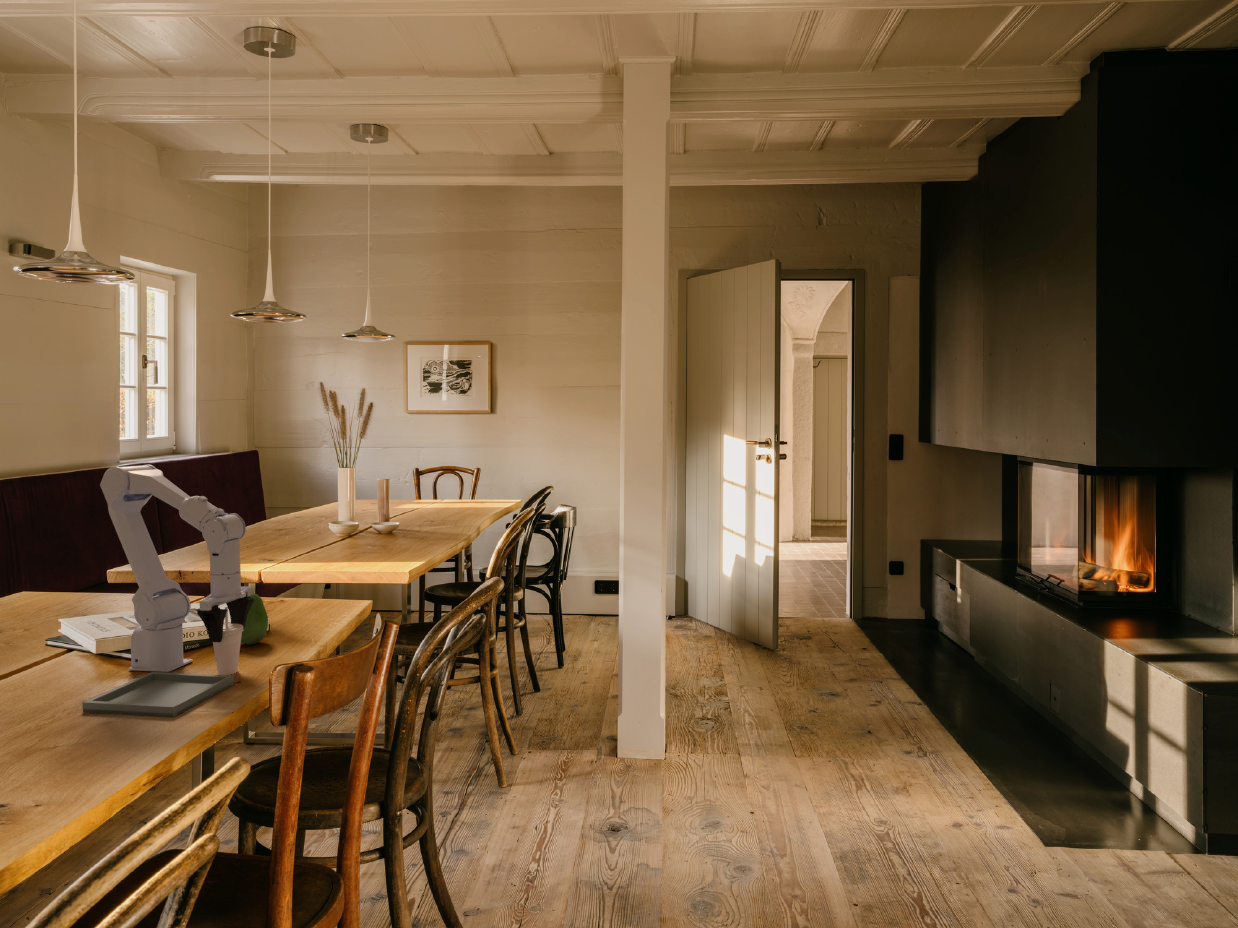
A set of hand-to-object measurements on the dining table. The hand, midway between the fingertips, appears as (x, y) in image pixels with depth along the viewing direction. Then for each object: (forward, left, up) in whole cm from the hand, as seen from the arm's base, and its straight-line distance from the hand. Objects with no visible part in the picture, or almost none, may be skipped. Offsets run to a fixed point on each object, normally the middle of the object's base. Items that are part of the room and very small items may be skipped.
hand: (227, 636), depth 170 cm
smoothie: (0, 0, -8) cm, 8 cm away
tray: (-3, -16, -8) cm, 18 cm away
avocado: (-8, +21, -8) cm, 24 cm away
